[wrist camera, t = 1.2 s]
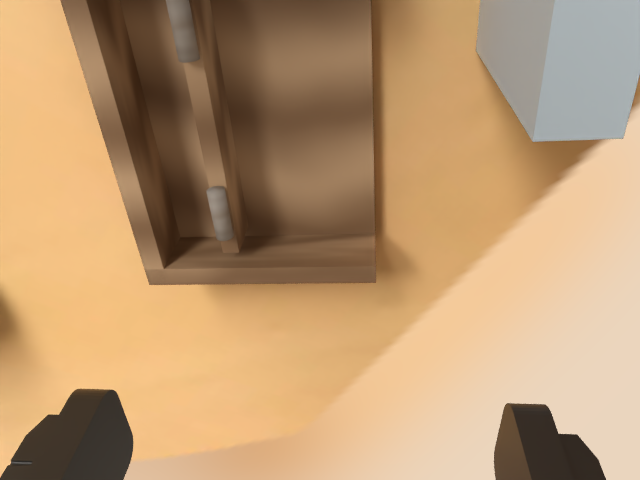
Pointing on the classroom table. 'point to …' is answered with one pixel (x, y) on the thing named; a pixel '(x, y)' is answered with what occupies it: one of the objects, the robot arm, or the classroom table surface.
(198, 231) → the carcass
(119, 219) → the classroom table surface
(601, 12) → the blue-gray square slab
